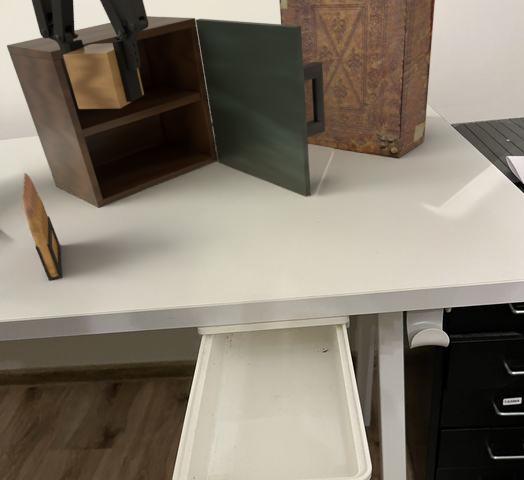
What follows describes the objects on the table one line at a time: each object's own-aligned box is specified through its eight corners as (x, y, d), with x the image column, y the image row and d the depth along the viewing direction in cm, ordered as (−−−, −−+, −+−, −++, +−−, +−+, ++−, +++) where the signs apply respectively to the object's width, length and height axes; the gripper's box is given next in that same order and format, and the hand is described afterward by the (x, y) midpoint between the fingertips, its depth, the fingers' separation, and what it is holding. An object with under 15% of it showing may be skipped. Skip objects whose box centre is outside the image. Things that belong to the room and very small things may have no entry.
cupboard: (218, 161, 108) (195, 18, 93) (99, 208, 95) (50, 51, 80) (168, 145, 119) (140, 15, 104) (55, 186, 107) (6, 45, 92)
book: (289, 141, 112) (275, -37, 94) (315, 127, 118) (307, -44, 99) (400, 158, 98) (409, -47, 80) (424, 142, 103) (438, -55, 85)
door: (246, 151, 110) (229, 12, 95) (337, 183, 92) (333, 17, 77) (218, 162, 107) (195, 19, 92) (306, 196, 89) (295, 27, 74)
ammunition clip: (62, 277, 77) (30, 195, 69) (48, 280, 76) (15, 199, 69) (60, 246, 85) (31, 169, 78) (48, 248, 85) (18, 172, 77)
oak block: (78, 109, 68) (62, 55, 64) (104, 95, 72) (90, 44, 68) (120, 108, 66) (106, 52, 62) (144, 94, 70) (132, 41, 66)
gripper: (149, -162, 54) (192, 89, 68) (-3, -133, 60) (65, 92, 74) (110, -167, 49) (165, 107, 63) (-53, -135, 55) (31, 109, 69)
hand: (111, 98), depth 69 cm, fingers closed on oak block, 6 cm apart
